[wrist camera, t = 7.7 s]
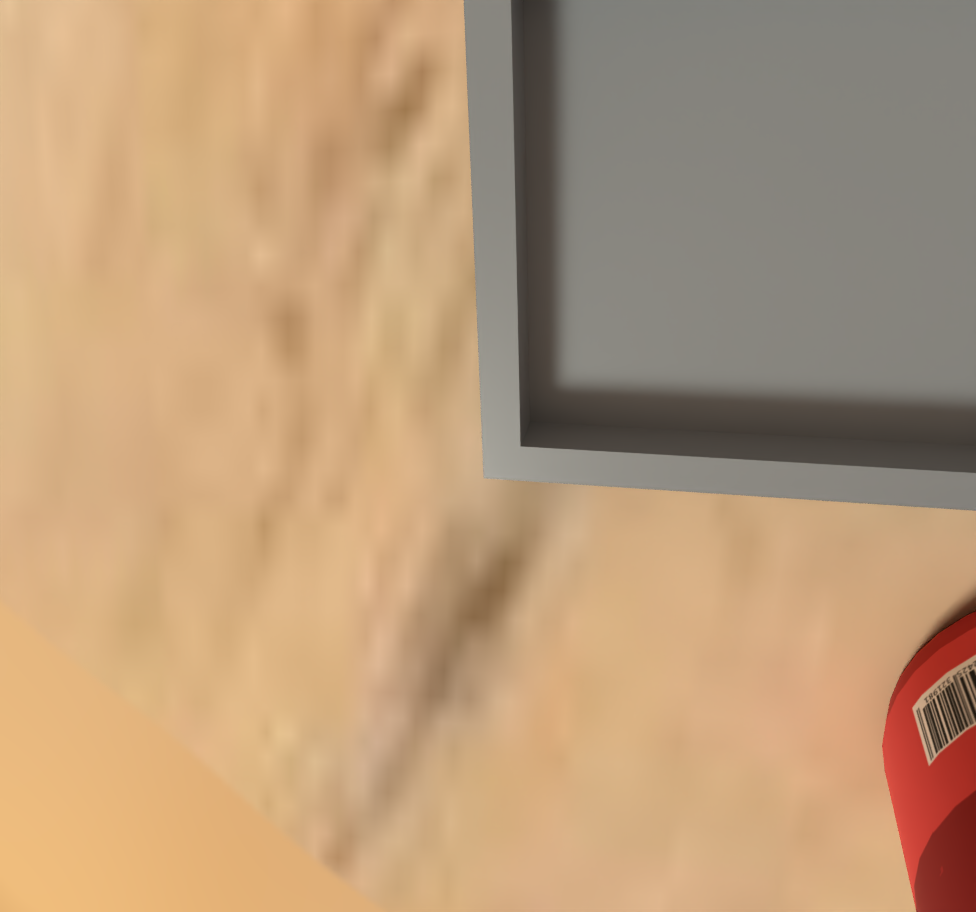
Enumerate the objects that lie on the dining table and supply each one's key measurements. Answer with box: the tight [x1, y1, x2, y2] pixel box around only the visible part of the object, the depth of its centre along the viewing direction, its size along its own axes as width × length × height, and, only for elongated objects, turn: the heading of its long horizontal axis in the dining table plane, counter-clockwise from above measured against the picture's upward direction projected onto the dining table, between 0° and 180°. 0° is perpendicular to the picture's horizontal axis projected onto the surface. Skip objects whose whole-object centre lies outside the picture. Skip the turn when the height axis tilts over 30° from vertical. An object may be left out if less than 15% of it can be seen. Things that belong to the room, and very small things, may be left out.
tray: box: [464, 0, 976, 511], centre depth 17 cm, size 12×10×2 cm
